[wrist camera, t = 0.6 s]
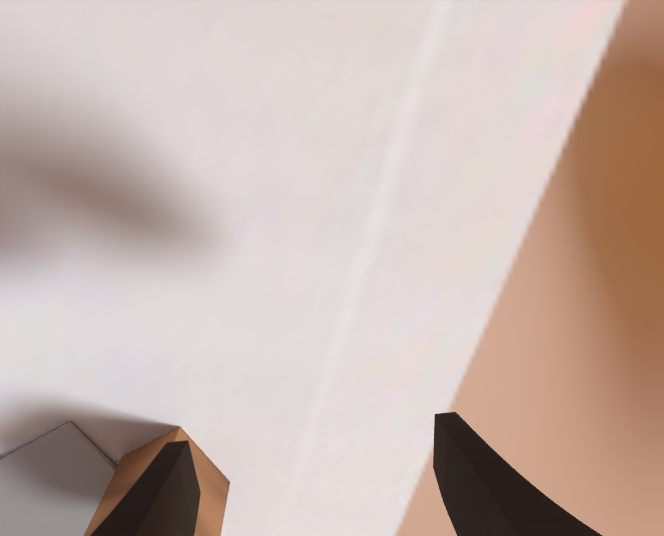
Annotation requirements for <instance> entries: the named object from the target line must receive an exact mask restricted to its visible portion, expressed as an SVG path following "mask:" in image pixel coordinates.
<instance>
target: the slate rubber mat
mask: <svg viewBox="0 0 664 536" xmlns="http://www.w3.org/2000/svg"><path fill="white" fill-rule="evenodd" d="M116 469H117V466H116V465H115V464H114V463H113V462H111V461H110V460H109V459H108V458H107V457H106V456H105V455H104V454H103V453H102V452H101V451H100V450H99V449H98V448H97V447H96V446H95V445H94V444H93V443H92V442H91V441H90V440H89V439H88V438H87V437H86V436H85V435H84V434H83V433H82V432H81V431H80V430H79V429H78V428H77V427H76V426H75V425H74V424H73V423H72V422H71V421H70V422H68V423H66V424H64V425H62V426H60V427H59V428H57V429H55V430H53V431H51V432H49V433H47V434H46V435H44V436H42V437H40V438H38V439H36V440H34V441H33V442H31V443H29V444H27V445H25V446H23V447H21V448H20V449H18V450H16V451H14V452H12V453H10V454H8V455H7V456H5V457H3V458H1V459H0V536H84V533H85V531H86V529H87V527H88V525H89V523H90V521H91V519H92V517H93V515H94V513H95V511H96V509H97V507H98V505H99V503H100V501H101V499H102V497H103V495H104V493H105V491H106V489H107V487H108V485H109V483H110V481H111V479H112V477H113V475H114V473H115V471H116Z"/></svg>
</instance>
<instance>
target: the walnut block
mask: <svg viewBox="0 0 664 536" xmlns="http://www.w3.org/2000/svg"><path fill="white" fill-rule="evenodd" d="M185 440H188V441H189V445H190V449H191V454H192V458H193V462H194V466H195V470H196V475H197V479H198V483H199V487H200V492H201V495H200V502H199V509H198V516H197V522H196V528H195V533H194V536H220V535H221V530H222V524H223V518H224V513H225V507H226V501H227V496H228V490H229V484H230V481H229V480H228V479H227V478H226V477H225V476H224V475H223V474H222V473H221V471H220V470H219V469H218V468H217V467H216V466H215V465H214V464H213V462H212V461H211V460H210V459H209V458H208V457H207V456H206V455H205V454H204V452H203V451H202V450H201V449H200V448H199V447H198V446H197V445H196V444H195V442H194V441H193V440H192V439H191V438H190V437H189V436H188V435H187V434H186V432H185V431H184V430H183V429H182V428H181V427H178V428H176V429H174V430H172V431H171V432H169V433H167V434H165V435H163V436H161V437H159V438H157V439H155V440H153V441H151V442H149V443H147V444H145V445H144V446H142V447H140V448H138V449H136V450H134V451H132V452H130V453H128V454H126V455H124V456H122V458H121V460H120V462H119V464H118V467H117V469H116V471H115V473H114V475H113V477H112V479H111V481H110V483H109V485H108V487H107V489H106V491H105V493H104V495H103V497H102V499H101V501H100V503H99V505H98V507H97V509H96V511H95V513H94V515H93V517H92V519H91V521H90V523H89V525H88V527H87V529H86V531H85V533H84V536H90V535H91V534H92V533H93V532H94V530H95V529H96V528H97V527H98V526H99V525H100V524H101V523H102V521H103V520H104V519H105V518H106V517H107V516H108V515H109V514H110V512H111V511H112V510H113V509H114V508H115V507H116V505H117V504H118V503H119V502H120V500H121V499H122V498H123V497H124V496H125V494H126V493H127V492H128V491H129V489H130V488H131V487H132V486H133V485H134V483H135V482H136V481H137V480H138V478H139V477H140V476H141V474H142V473H143V472H144V471H145V469H146V468H147V467H148V465H149V464H150V463H151V462H152V460H153V459H154V458H155V456H156V455H157V454H158V453H159V451H160V450H161V449H162V448H163V446H164V445H165V444H166V443H167V442H176V441H185Z"/></svg>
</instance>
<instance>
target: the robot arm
mask: <svg viewBox="0 0 664 536" xmlns="http://www.w3.org/2000/svg"><path fill="white" fill-rule="evenodd" d="M433 461H434V462H433V468H434V471H435V475H436V479H437V482H438V485H439V489H440V492H441V496H442V499H443V502H444V504H445V507H446V510H447V512H448V515H449V517H450V519H451V522H452V524H453V527H454V529H455V531H456V534H457V536H602V535H600V534H599V533H597V532H596V531H594V530H593V529H591V528H590V527H588V526H587V525H585V524H583V523H582V522H581V521H579V520H578V519H576V518H575V517H574V516H572V515H571V514H569V513H568V512H567V511H565V510H564V509H563V508H561V507H560V506H558V505H557V504H556V503H554V502H553V501H552V500H551V499H549V498H548V497H546V496H545V495H544V494H543V493H542V492H540V491H539V490H538V489H537V488H536V487H534V486H533V485H532V484H531V483H530V482H529V481H527V480H526V479H525V478H524V477H523V476H521V475H520V474H519V473H518V472H517V471H516V470H515V469H514V468H512V467H511V466H510V465H509V464H508V463H507V462H506V461H505V460H504V459H503V458H501V457H500V456H499V455H498V454H497V453H496V452H495V451H494V450H493V449H492V448H491V447H490V446H489V445H488V444H487V443H486V442H485V441H484V440H483V439H482V438H481V437H480V436H479V435H478V434H477V433H476V432H475V431H474V430H473V429H472V428H471V427H470V426H469V425H468V424H467V423H466V422H465V421H464V420H463V419H462V418H461V417H460V416H459V415H458V414H457V413H456V412H451V413H441V414H435V426H434V460H433ZM200 495H201V492H200V487H199V483H198V479H197V475H196V470H195V466H194V462H193V458H192V454H191V449H190V445H189V441H188V440H185V441H176V442H167V443H166V444H165V445H164V446H163V448H162V449H161V450H160V451H159V453H158V454H157V455H156V456H155V458H154V459H153V460H152V462H151V463H150V464H149V465H148V467H147V468H146V469H145V471H144V472H143V473H142V474H141V476H140V477H139V478H138V480H137V481H136V482H135V483H134V485H133V486H132V487H131V488H130V489H129V491H128V492H127V493H126V494H125V496H124V497H123V498H122V499H121V500H120V502H119V503H118V504H117V505H116V507H115V508H114V509H113V510H112V511H111V512H110V514H109V515H108V516H107V517H106V518H105V519H104V520H103V521H102V523H101V524H100V525H99V526H98V527H97V528H96V529H95V530H94V532H93V533H92V534H91V535H90V536H194V533H195V528H196V522H197V516H198V509H199V502H200Z"/></svg>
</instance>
